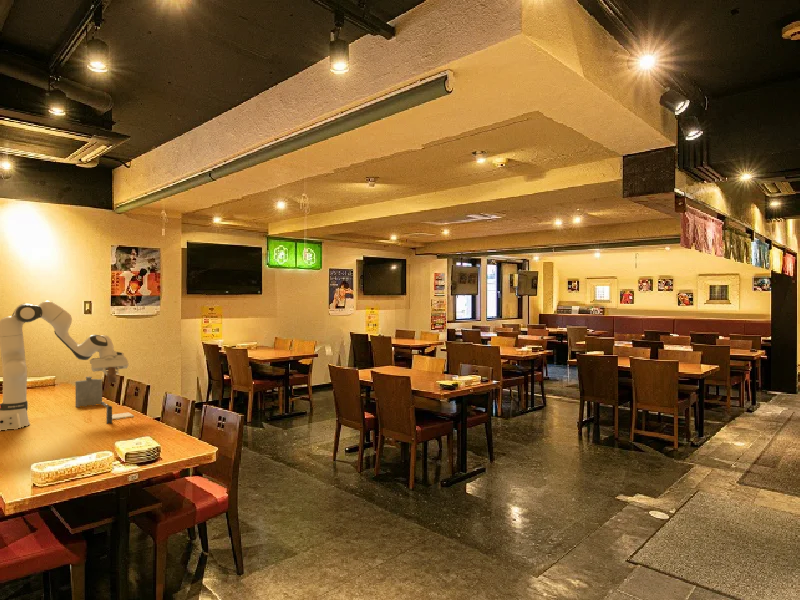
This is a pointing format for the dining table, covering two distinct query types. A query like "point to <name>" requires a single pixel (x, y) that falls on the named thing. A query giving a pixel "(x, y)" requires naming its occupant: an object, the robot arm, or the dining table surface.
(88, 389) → the hip flask
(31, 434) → the dining table surface
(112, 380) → the walnut peg
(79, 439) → the dining table surface
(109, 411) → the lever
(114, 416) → the plate
